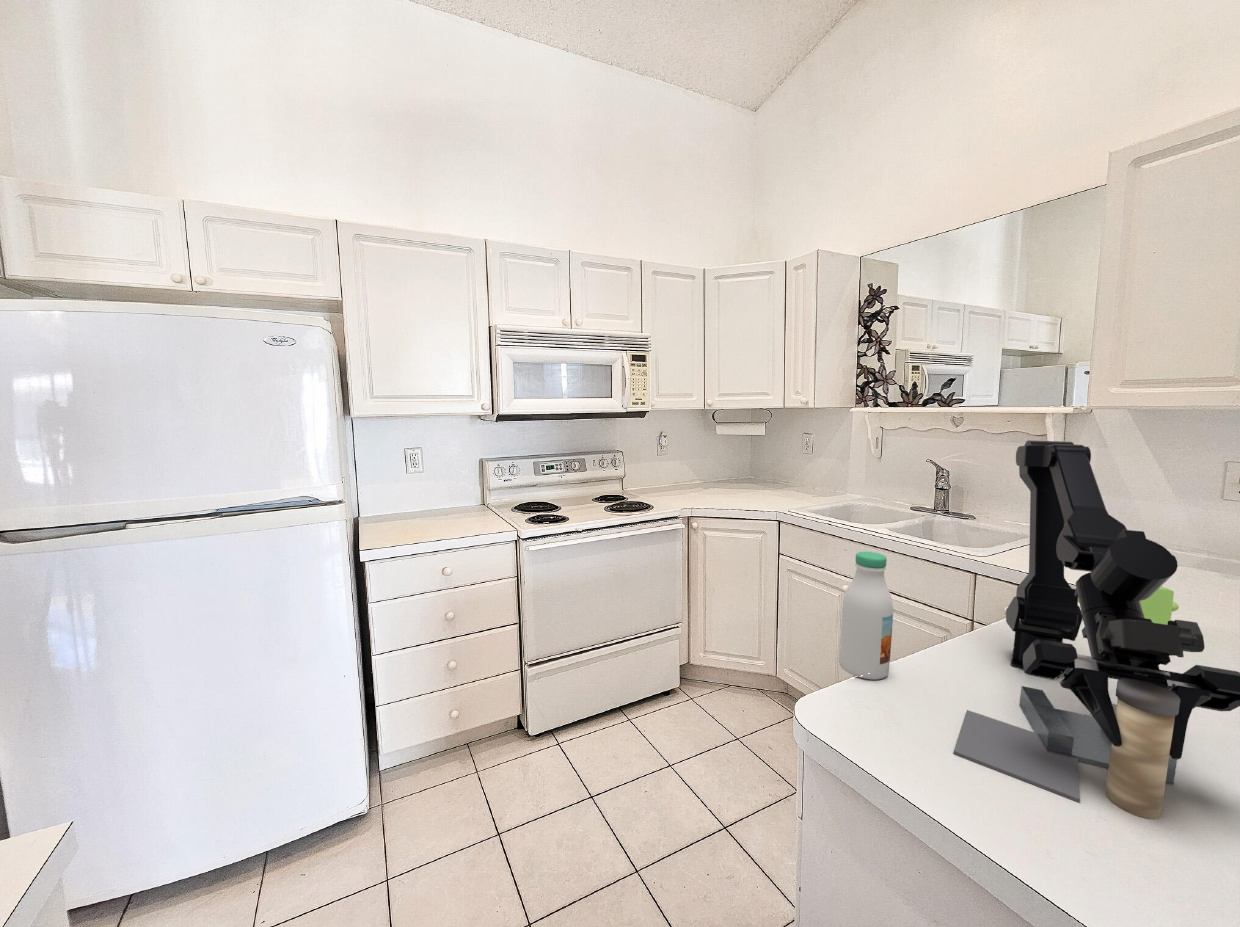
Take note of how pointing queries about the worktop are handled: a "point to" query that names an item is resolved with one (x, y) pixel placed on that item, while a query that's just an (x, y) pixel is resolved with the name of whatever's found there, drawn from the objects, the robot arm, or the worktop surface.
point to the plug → (1141, 747)
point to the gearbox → (1159, 606)
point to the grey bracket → (1071, 731)
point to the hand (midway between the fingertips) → (1146, 752)
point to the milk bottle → (867, 620)
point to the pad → (1017, 754)
